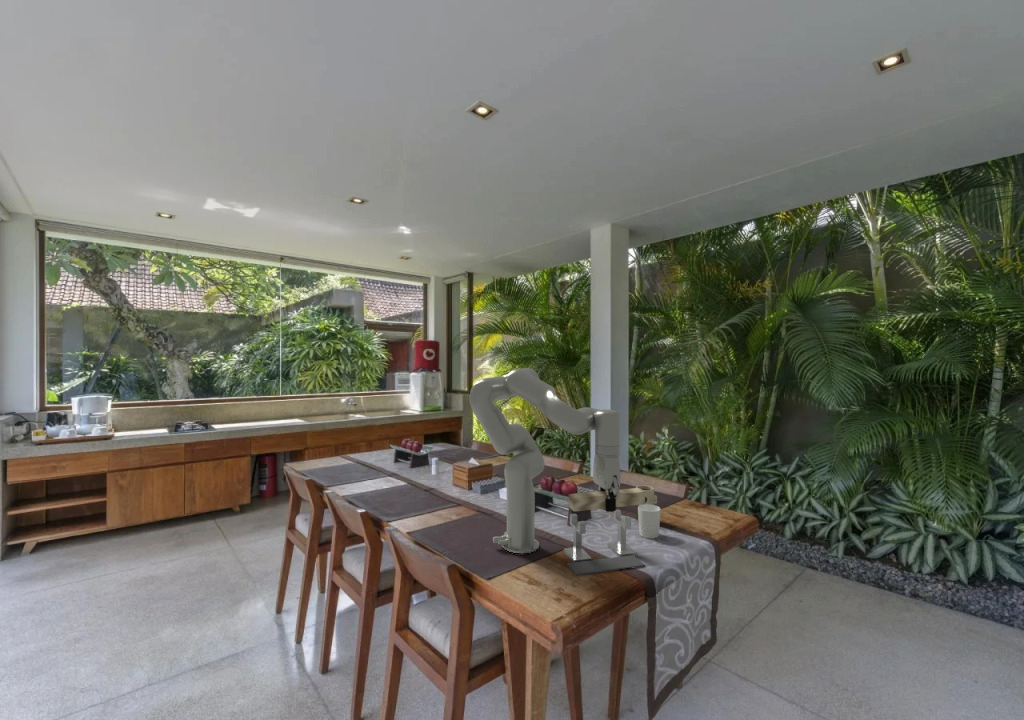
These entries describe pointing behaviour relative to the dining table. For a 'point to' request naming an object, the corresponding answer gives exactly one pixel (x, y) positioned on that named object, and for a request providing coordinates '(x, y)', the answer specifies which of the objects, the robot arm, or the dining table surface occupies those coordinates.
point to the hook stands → (618, 547)
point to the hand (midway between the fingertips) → (607, 507)
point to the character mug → (648, 495)
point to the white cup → (649, 520)
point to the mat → (604, 565)
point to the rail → (599, 499)
